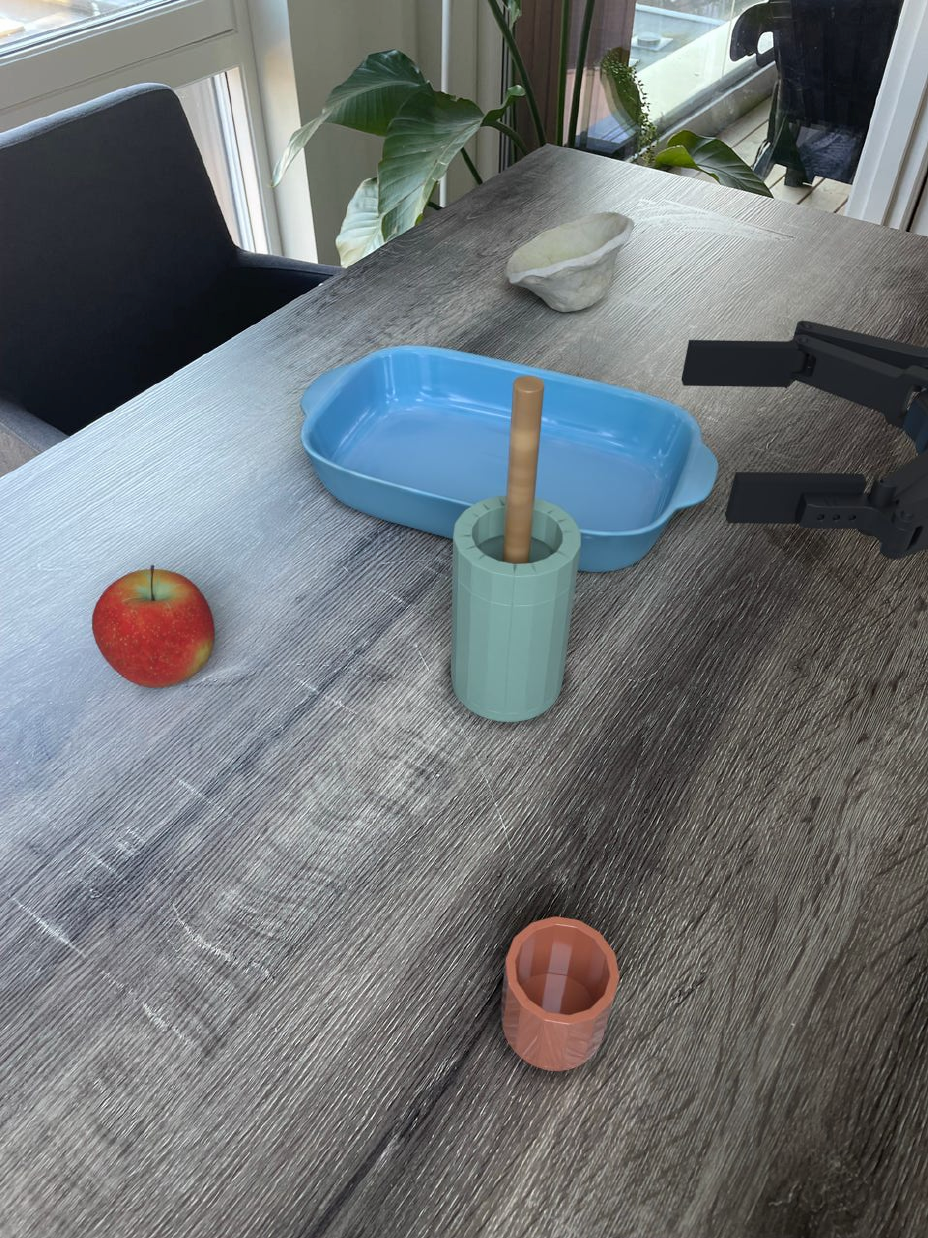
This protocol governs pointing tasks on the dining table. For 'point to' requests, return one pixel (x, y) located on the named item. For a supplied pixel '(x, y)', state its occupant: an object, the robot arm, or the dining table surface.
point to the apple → (154, 627)
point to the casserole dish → (502, 447)
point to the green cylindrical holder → (511, 611)
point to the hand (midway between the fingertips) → (705, 424)
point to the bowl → (571, 260)
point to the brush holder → (558, 992)
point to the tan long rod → (522, 467)
